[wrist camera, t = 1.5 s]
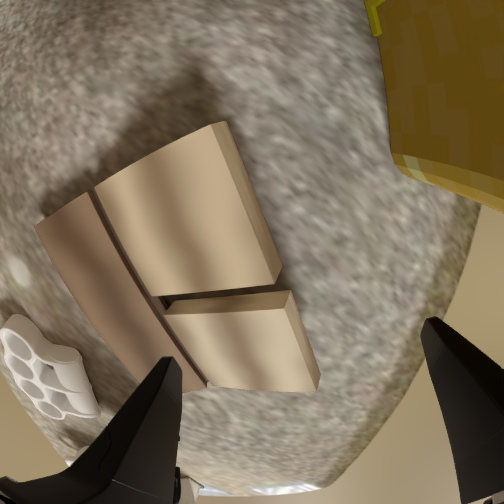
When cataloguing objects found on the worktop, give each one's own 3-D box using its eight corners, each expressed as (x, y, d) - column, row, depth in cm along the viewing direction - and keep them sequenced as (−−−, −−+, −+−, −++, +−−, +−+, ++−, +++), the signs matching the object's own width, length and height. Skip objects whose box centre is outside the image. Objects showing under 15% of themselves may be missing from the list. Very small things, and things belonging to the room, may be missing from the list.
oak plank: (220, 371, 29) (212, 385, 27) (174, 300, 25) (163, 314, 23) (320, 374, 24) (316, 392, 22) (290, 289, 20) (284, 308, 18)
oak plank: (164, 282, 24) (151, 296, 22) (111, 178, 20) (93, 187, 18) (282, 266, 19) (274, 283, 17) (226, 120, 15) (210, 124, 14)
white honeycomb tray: (108, 417, 33) (33, 393, 31) (78, 326, 26) (-7, 304, 24) (103, 434, 30) (26, 407, 28) (66, 345, 23) (-20, 318, 21)
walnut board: (156, 386, 29) (153, 398, 28) (45, 219, 21) (33, 226, 19) (213, 372, 29) (213, 385, 27) (104, 182, 20) (94, 186, 18)
